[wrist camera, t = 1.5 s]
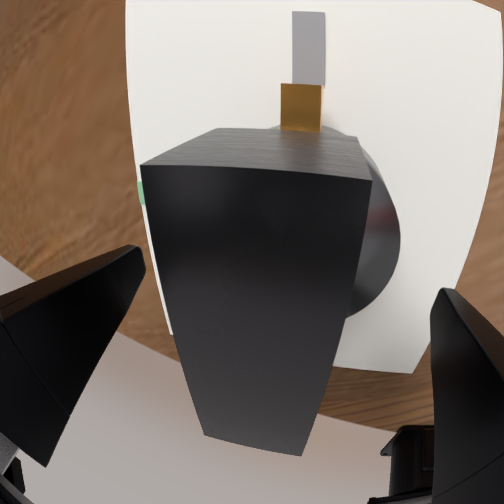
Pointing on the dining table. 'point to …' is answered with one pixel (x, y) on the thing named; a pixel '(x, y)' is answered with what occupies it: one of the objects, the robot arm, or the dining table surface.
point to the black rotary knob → (267, 264)
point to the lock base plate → (341, 119)
